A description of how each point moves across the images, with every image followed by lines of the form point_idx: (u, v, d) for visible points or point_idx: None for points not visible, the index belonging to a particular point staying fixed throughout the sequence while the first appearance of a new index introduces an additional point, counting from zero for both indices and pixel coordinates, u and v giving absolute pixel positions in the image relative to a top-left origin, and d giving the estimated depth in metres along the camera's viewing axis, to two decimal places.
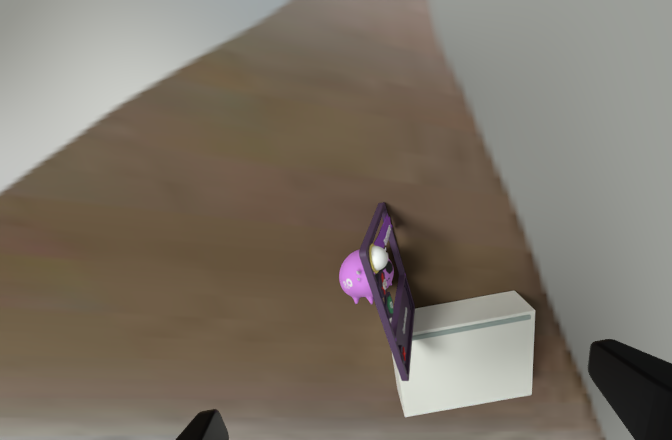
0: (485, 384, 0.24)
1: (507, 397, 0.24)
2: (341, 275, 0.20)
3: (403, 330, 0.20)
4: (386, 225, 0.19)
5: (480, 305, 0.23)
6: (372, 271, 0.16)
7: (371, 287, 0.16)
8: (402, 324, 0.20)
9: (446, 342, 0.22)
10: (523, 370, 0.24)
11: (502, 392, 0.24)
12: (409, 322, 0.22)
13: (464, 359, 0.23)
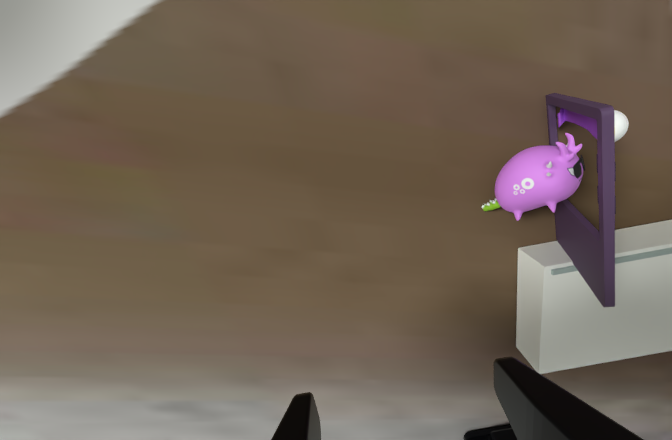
0: (641, 333, 0.20)
1: (664, 350, 0.20)
2: (509, 178, 0.16)
3: None
4: None
5: (642, 234, 0.19)
6: (613, 139, 0.12)
7: (605, 164, 0.12)
8: None
9: None
10: None
11: (659, 343, 0.20)
12: None
13: (623, 299, 0.19)
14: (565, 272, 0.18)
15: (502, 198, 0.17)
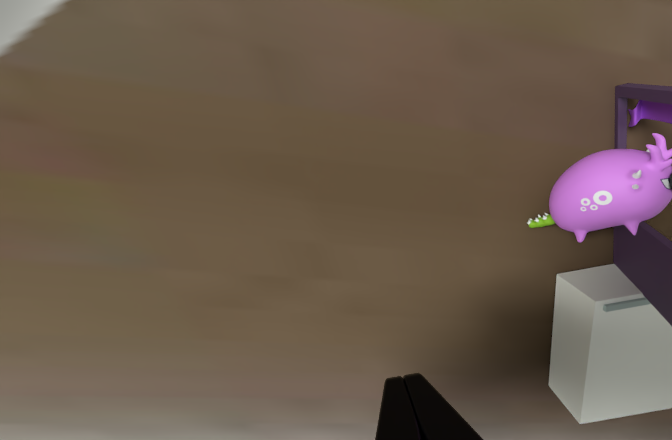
0: None
1: None
2: (575, 190, 0.12)
3: None
4: (665, 104, 0.12)
5: None
6: None
7: None
8: None
9: None
10: None
11: None
12: None
13: None
14: (620, 308, 0.14)
15: (562, 214, 0.13)
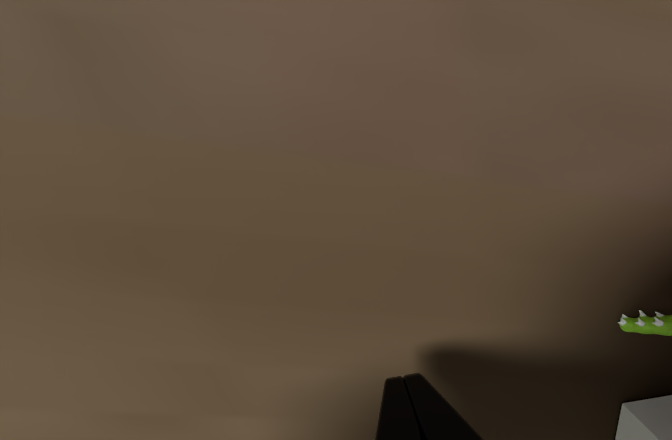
0: None
1: None
2: None
3: None
4: None
5: None
6: None
7: None
8: None
9: None
10: None
11: None
12: None
13: None
14: None
15: None
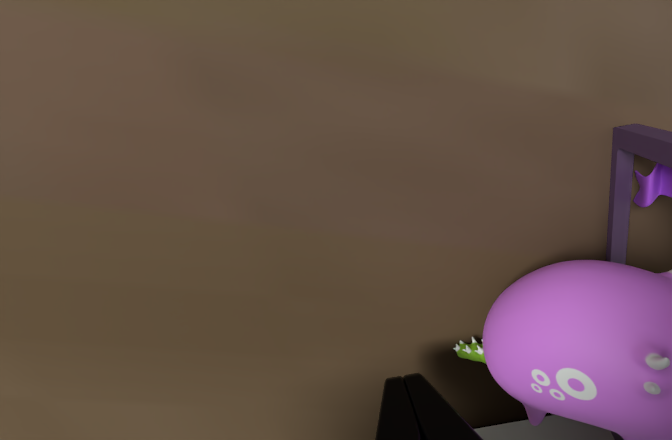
0: None
1: None
2: (523, 346, 0.06)
3: None
4: None
5: None
6: None
7: None
8: None
9: None
10: None
11: None
12: None
13: None
14: None
15: (499, 375, 0.07)
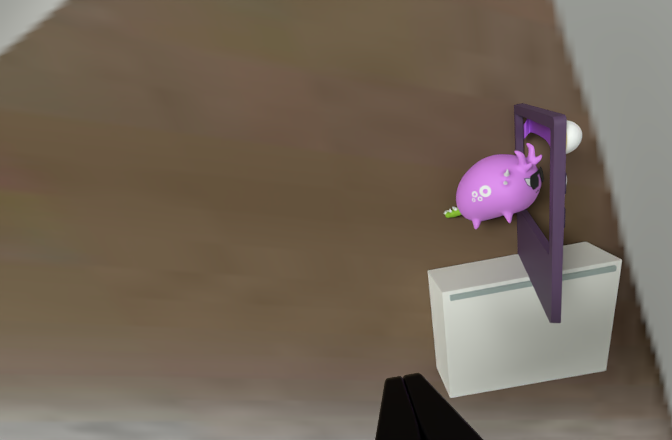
0: (550, 357, 0.19)
1: (576, 373, 0.20)
2: (469, 185, 0.15)
3: None
4: None
5: None
6: (565, 149, 0.11)
7: (556, 175, 0.12)
8: None
9: (508, 301, 0.18)
10: (599, 339, 0.19)
11: (571, 367, 0.20)
12: None
13: (528, 324, 0.18)
14: (463, 298, 0.17)
15: (461, 205, 0.16)
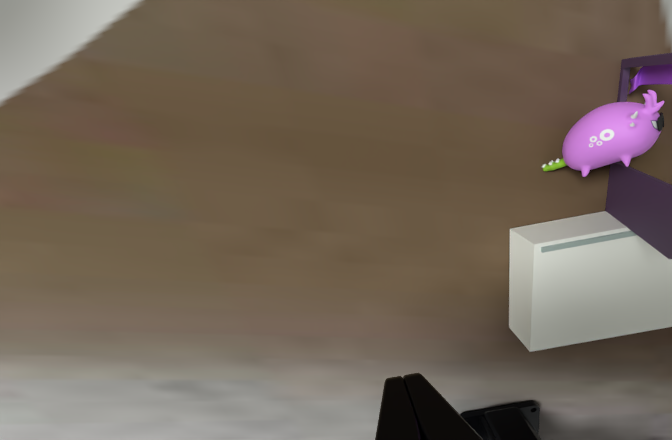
0: (629, 311, 0.20)
1: (652, 328, 0.21)
2: (586, 131, 0.16)
3: None
4: (658, 70, 0.16)
5: None
6: None
7: None
8: None
9: (595, 254, 0.19)
10: None
11: (647, 322, 0.21)
12: None
13: (611, 277, 0.19)
14: (554, 249, 0.18)
15: (573, 152, 0.17)
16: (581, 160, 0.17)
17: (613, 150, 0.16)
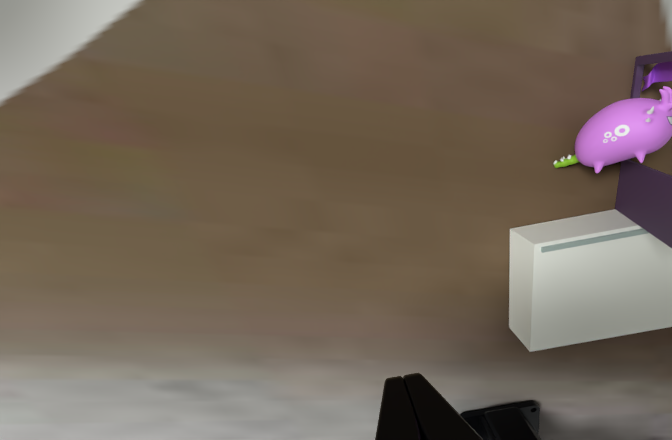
0: (629, 311, 0.20)
1: (652, 328, 0.21)
2: (601, 126, 0.16)
3: None
4: None
5: None
6: None
7: None
8: None
9: (595, 254, 0.19)
10: None
11: (647, 322, 0.21)
12: None
13: (611, 277, 0.19)
14: (554, 249, 0.18)
15: (586, 148, 0.17)
16: (594, 156, 0.17)
17: (628, 146, 0.16)
